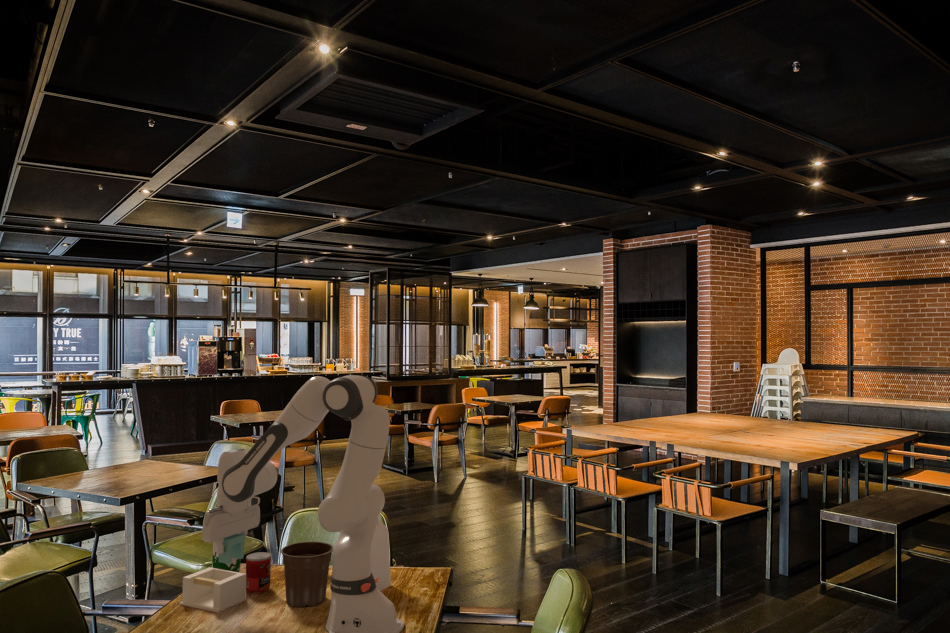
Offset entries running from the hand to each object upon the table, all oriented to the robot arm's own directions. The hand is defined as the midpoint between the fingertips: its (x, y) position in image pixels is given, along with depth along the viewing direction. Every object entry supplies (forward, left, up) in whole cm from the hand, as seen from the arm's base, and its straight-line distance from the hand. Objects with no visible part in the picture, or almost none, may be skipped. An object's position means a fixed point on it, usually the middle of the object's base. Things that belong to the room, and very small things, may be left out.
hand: (231, 549), depth 192 cm
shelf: (+12, -5, -19) cm, 23 cm away
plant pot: (-14, -18, -19) cm, 30 cm away
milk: (-25, -35, -19) cm, 47 cm away
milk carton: (+22, -20, -19) cm, 35 cm away
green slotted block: (0, 0, -3) cm, 3 cm away
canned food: (+7, -19, -19) cm, 28 cm away
